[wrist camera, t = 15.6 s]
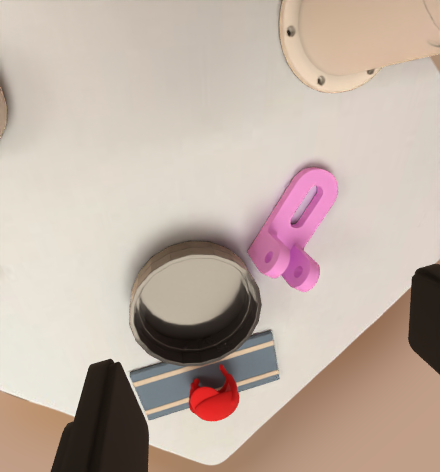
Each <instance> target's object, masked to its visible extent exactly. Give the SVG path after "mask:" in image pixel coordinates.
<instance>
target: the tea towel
mask: <svg viewBox="0 0 440 472" xmlns="http://www.w3.org/2000/svg"><path fill="white" fill-rule="evenodd" d="M221 364H222V365H223V366H224V368H225V369H226V371H227V372H228V374H231V375H232V377H233V378H234V380H235V382H236V384H237V391H238V392H241V391H244V390H247V389H250V388H253V387H256V386H259V385H263V384H266V383H269V382H272V381H275V380H278V379H279V372H278V367H277V361H276V355H275V349H274V342H273V337H272V332H271V331H267V332H264V333H260V334H257V335H254V336H250V338H249V339H248V340H247V341H246V342H245V343H244V344H243V345H242V346H241V347H240V348H239V349H238V350H237V351H235V352H233V353H232V354H230V355H228V356H227V357H225V358H223V359H222V360H219V361H216V362H213V363H209V364H206V365H203V366H186V367H182V366H177V365H172V364H168V363H164V362H163V363H160V364H157V365H153V366H150V367H146V368H143V369H140V370H136V371H133V372H130V378H131V380H132V382H133V386H134V387H135V389H136V391H137V394H138V396H139V398H140V401H141V403H142V405H143V408H144V410H145V413H146V415H147V417H148V419H149V420H152V419H155V418H158V417H161V416H165V415H168V414H171V413H174V412H177V411H180V410H184V409H187V408H189V394H190V389H191V386H190V385H191V383H193V381H194V379H196V378H197V379H199V385H198V386H199V387H211V388H213V389H215V390H217V391H218V390H220V389H221V388H222V387H223V386H224V384H225V381H226V378H225V376H224V375H223V373H222V372H221V370H220V369H219V365H221Z"/></svg>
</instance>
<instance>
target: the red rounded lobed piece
mask: <svg viewBox="0 0 440 472" xmlns="http://www.w3.org/2000/svg"><path fill="white" fill-rule="evenodd" d="M219 369H220V370H221V372H222V373H223V375H224V376H225V378H226V381H225V384H224V386H223V387H222V388H221V389H220V390H218V391H217V390H215V389H213V388H211V387H199V386H198V385H199V379H197V378H196V379H194V381H193V383H191V385H190V386H191V389H190V394H189V408H190V410H191V411H192V412H193V413H195V414H196V415H197V416H198V417H200V418H201V419H203V420H206V421H218V420H222V419H224V418H226V417H228V416H229V415H231V414H232V413H233V412H234V411H235V409H236V408H237V406H238V403H239V393H238V391H237V384H236V382H235V380H234V378H233V377H232V375H231V374H228V372H227V371H226V369H225V368H224V366H223V365H222V364H221V365H219Z"/></svg>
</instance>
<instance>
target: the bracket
mask: <svg viewBox="0 0 440 472" xmlns="http://www.w3.org/2000/svg"><path fill="white" fill-rule="evenodd" d="M313 186H317V193H316V195H315V196H314V198H313V200H312V201H311V203H310V204H309V206H308V207H307V209H306V210H305V212H304V213H303V215H302V216H301V218H300V219H299V221H298V222H297V223H296V224H292V225H291V223H290V221H291V218H292V216H293V215H294V213H295V212H296V210H297V209H298V207H299V205H300V204H301V202H302V201H303V199H304V198H305V196H306V195H307V193H308V191H309V190H310V189H311V188H312V187H313ZM337 193H338V185H337V181H336V179H335V177H334V176H333V175H332V174H331V173H330V172H328V171H326V170H323V169H320V168H316V167H310V168H306V169H304V170H302V171H300V172H299V173H298V174H297V175H296V176H295V177H294V178H293V179H292V181H291V183H290V184H289V186H288V187H287V189H286V191H285V192H284V194H283V195H282V197H281V199H280V200H279V202H278V203H277V205H276V207H275V208H274V210H273V211H272V213H271V215H270V216H269V218H268V219H267V221H266V223H265V224H264V226H263V227H262V229H261V231H260V232H259V234H258V235H257V237H256V239H255V240H254V242H253V243H252V245H251V247H250V248H249V250H248V251H247V253H248V255H249V256H250V258H251V259H252V261H253V262H254V264H255V265H256V267H257V268H258V270H259V271H260V272H261V273H263V274H265V275H267V276H269V277H271V278H277V277H279V276H280V275H282V277H283V278H284V279H285V280H286V282H287V283H288V284H289V285H290V286H291V287H293V288H295V289H297V290H299V291H302V292H306V291H309V290H310V289H312V288H313V287H314V286H315V284H316V283H317V281H318V278H319V275H320V268H319V265H318V264H317V263H316V262H315V261H314V260H313V259H312V258H311V257H310V256H309V255H308V254H307V253H305V252H304V247H305V245H306V244H307V242H308V241H309V239H310V238H311V236H312V235H313V233H314V232H315V230H316V229H317V227H318V226H319V224H320V223H321V222H322V220H323V219H324V217H325V216H326V214H327V213H328V211H329V210H330V208H331V207H332V205H333V204H334V202H335V200H336V197H337Z"/></svg>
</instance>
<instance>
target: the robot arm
mask: <svg viewBox="0 0 440 472" xmlns="http://www.w3.org/2000/svg"><path fill="white" fill-rule="evenodd" d="M279 29H280V40H281V45H282V49H283V53H284V55H285V58H286V60H287V63H288V65H289V66H290V68H291V69H292V71H293V72H294V74H295V75H296V76H297V77H298V78H299V79H300V80H301V81H302V82H303V83H304V84H306V85H307V86H309V87H310V88H312V89H315V90H317V91H320V92H325V93H340V92H345V91H350V90H353V89H355V88H357V87H359V86H362V85H363V84H364V83H366V82H367V81H369V80H370V79H372V78H373V77H374V76H375V75H376V74H377V73H378V72H379V71H380V69H381V68H382V67H384V66H389V65H393V64H397V63H402V62H406V61H411V60H415V59H419V58H424V57H428V56H432V55H437V54H440V0H283V2H282V6H281V10H280V21H279ZM287 31H289V33H290V35H289V36H288V35H287ZM317 80H319V83H318V82H317ZM408 340H409V344H410V346H411V348H412V349H413V350H414V351H415V352H416V353H417V354H418V355H419V356H420V357H421V358H422V359H423V360H424V361H426V362H427V363H428V364H429V365H430V366H431V367H432V368H433V369H434V370H435V371H437V372H438V373H439V374H440V265H439V264H433V265H429V266H426V267H423V268H419V269H417V270H416V272H415V275H413V277H412V285H411V303H410V321H409V337H408ZM148 446H149V431H148V425H147V422H146V420H145V417H144V415H143V413H142V411H141V408H140V406H139V404H138V402H137V399H136V397H135V395H134V393H133V390H132V388H131V386H130V383H129V381H128V379H127V377H126V374H125V372H124V370H123V368H122V365H121V363H120V362H116V363H114V361H113V360H112V359H108V360H105V361H101V362H98V363H94V364H91V365H90V366H89V368H88V372H87V375H86V379H85V383H84V386H83V390H82V393H81V397H80V401H79V404H78V408H77V411H76V415H75V419H74V422H71V423H68V424H67V426H66V427H65V428H64V431H63V433H62V437H61V440H60V443H59V446H58V449H57V453H56V456H55V459H54V463H53V466H52V469H51V472H148V448H149V447H148Z"/></svg>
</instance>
